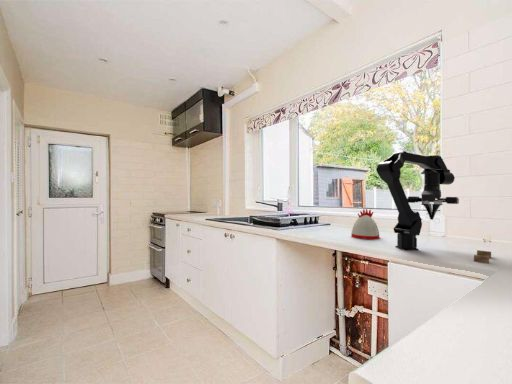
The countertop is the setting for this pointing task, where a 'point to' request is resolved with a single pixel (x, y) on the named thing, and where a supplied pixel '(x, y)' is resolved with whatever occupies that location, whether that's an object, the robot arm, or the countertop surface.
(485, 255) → the wooden blocks
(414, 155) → the robot arm
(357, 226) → the grey red beanie hat
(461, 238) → the countertop surface
